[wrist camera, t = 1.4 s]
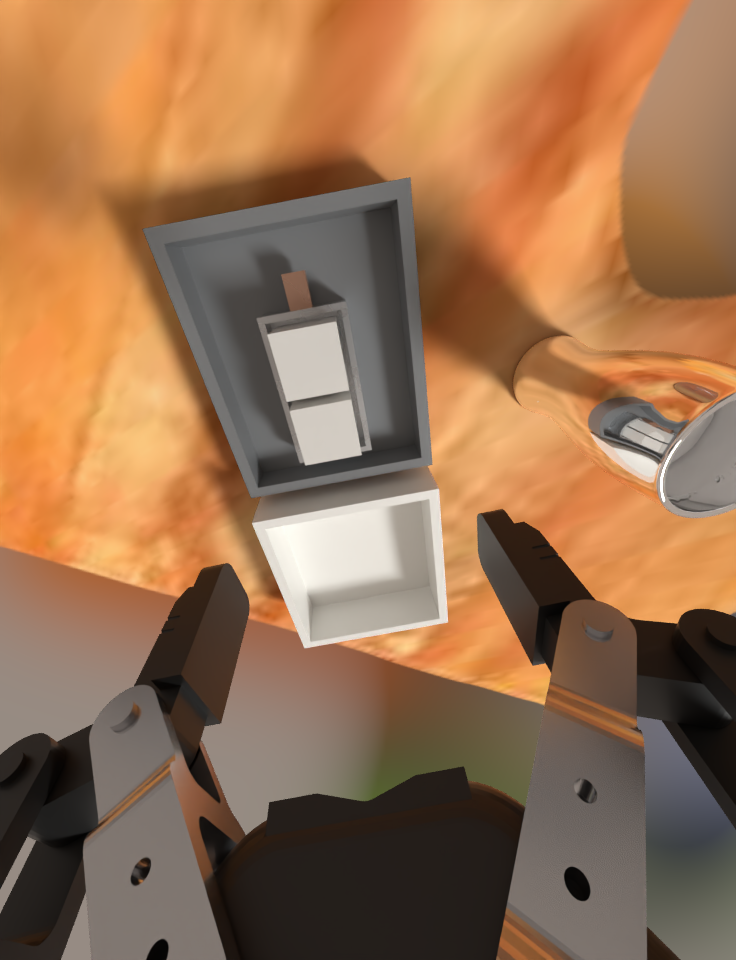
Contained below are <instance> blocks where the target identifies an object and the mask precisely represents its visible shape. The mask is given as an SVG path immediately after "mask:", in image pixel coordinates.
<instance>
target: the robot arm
mask: <svg viewBox="0 0 736 960" xmlns="http://www.w3.org/2000/svg"><path fill="white" fill-rule="evenodd" d="M477 531H478V554H479V558H480V562H481V565H482V568H483V570H484V572H485V574H486V576H487V578H488V580H489V582H490V583H491V585H492V587H493V589H494V591H495V593H496V595H497V597H498V599H499V601H500V603H501V605H502V607H503V609H504V611H505V613H506V615H507V617H508V619H509V621H510V623H511V624H512V626H513V628H514V630H515V632H516V634H517V636H518V638H519V640H520V642H521V644H522V646H523V648H524V650H525V652H526V654H527V656H528V658H529V660H530V662H531V663H532V665H533V666H534V665H539V664H544V663H546V665H547V666H548V668H549V670H550V672H551V678H550V683H549V688H548V692H547V697H546V702H545V707H544V712H543V718H542V723H541V728H540V733H539V739H538V744H537V749H536V755H535V760H534V765H533V770H532V776H531V781H530V786H529V791H528V797H527V802H526V807H524V806H523V805H522V804H521V803H519V802H518V801H517V800H515V799H513V798H512V797H510V796H508V795H507V794H506V793H503V792H502V791H499V790H497V789H495V788H493V787H491V786H488V785H485V784H481V783H478V782H472V781H468V780H467V776H466V772H465V769H464V767H458V768H453V769H447V770H442V771H437V772H431V773H426V774H421V775H415V776H414V777H412V778H410V779H408V780H406V781H405V782H403V783H401V784H399V785H397V786H395V787H394V788H392V789H390V790H388V791H387V792H385V793H383V794H381V795H379V796H377V797H376V798H374V799H372V800H369V801H357V800H351V799H345V798H340V797H334V796H328V795H322V794H312V795H306V796H301V797H296V798H290V799H285V800H279V801H274V802H270V803H269V809H268V817H267V820H266V821H265V822H263V823H261V824H260V825H259V826H257V827H256V828H254V829H253V830H252V831H251V832H250V833H248V834H247V835H246V834H245V832H244V831H243V829H242V827H241V825H240V824H239V822H238V821H237V819H236V818H235V816H234V814H233V813H232V811H231V809H230V807H229V805H228V803H227V800H226V798H225V795H224V793H223V790H222V788H221V785H220V783H219V781H218V778H217V775H216V773H215V770H214V768H213V766H212V763H211V761H210V758H209V756H208V753H207V751H206V748H205V746H204V744H203V742H202V741H201V737H202V733H203V730H204V726H209V725H215V724H220V723H221V721H222V717H223V713H224V710H225V706H226V702H227V698H228V694H229V690H230V686H231V682H232V678H233V674H234V670H235V667H236V663H237V659H238V654H239V651H240V647H241V643H242V639H243V635H244V631H245V628H246V623H247V620H248V616H249V600H248V596H247V594H246V592H245V590H244V588H243V586H242V584H241V583H240V581H239V579H238V577H237V575H236V573H235V571H234V570H233V568H232V566H231V565H230V564H228V563H226V564H221V565H216V566H211V567H206V568H203V569H202V570H201V571H200V573H199V576H198V578H197V580H196V582H195V584H194V587H189V588H188V589H187V590H186V591H185V592H184V593H183V594H182V595H181V596H180V598H179V599H178V600H177V601H176V602H175V604H174V606H173V608H172V610H171V612H170V615H169V616H168V621H166V622H165V624H164V627H163V628H162V633H161V634H159V637H158V639H157V641H156V643H155V645H154V647H153V649H152V651H151V653H150V655H149V657H148V659H147V661H146V663H145V665H144V667H143V669H142V671H141V673H140V675H139V677H138V679H137V681H136V683H135V685H134V687H132V688H129V689H127V690H125V691H124V692H122V693H120V694H119V695H118V696H116V697H115V698H114V699H113V700H112V701H110V702H109V704H107V706H106V707H105V708H104V709H103V710H102V711H101V713H100V714H99V715H98V717H97V718H96V720H95V722H94V724H92V725H90V726H88V727H86V728H84V729H82V730H80V731H78V732H76V733H74V734H72V735H70V736H68V737H66V738H64V739H62V740H60V741H58V742H56V741H55V740H54V739H52V738H51V737H49V736H48V735H46V734H44V733H38V734H33V735H30V736H28V737H25V738H23V739H21V740H20V741H18V742H16V743H15V744H13V745H12V746H11V747H9V748H8V749H7V750H5V751H4V752H3V753H2V754H1V755H0V889H1V887H2V885H3V883H4V881H5V879H6V877H7V875H8V873H9V871H10V869H11V867H12V865H13V863H14V861H15V859H16V857H17V855H18V853H19V852H20V850H21V848H22V846H23V844H24V842H25V840H26V838H27V836H28V837H30V838H32V839H34V840H36V842H35V844H34V846H33V848H32V851H31V853H30V854H29V856H28V858H27V861H26V863H25V865H24V867H23V869H22V871H21V873H20V875H19V877H18V879H17V881H16V883H15V885H14V887H13V889H12V891H11V893H10V895H9V897H8V899H7V901H6V903H5V905H4V907H3V909H2V911H1V913H0V960H61V957H62V955H63V952H64V949H65V947H66V944H67V941H68V938H69V936H70V933H71V931H72V928H73V925H74V922H75V920H76V917H77V914H78V912H79V909H80V906H81V904H82V901H83V898H84V895H85V893H86V897H87V909H88V922H89V935H90V947H91V960H680V959H679V958H678V957H677V956H676V955H675V954H674V953H673V952H672V951H671V950H670V949H669V948H668V947H667V946H666V945H665V944H664V943H663V942H662V941H661V940H660V939H659V938H658V937H657V936H656V935H655V934H654V933H653V932H652V931H651V930H650V929H649V928H648V927H647V921H646V920H647V917H646V841H645V840H646V838H645V837H646V833H645V752H644V739H643V734H642V732H641V730H639V729H638V727H637V716H640V717H646V718H652V719H658V720H662V722H663V723H664V724H665V726H666V727H667V729H668V730H669V732H670V733H671V735H672V736H673V738H674V739H675V741H676V742H677V744H678V745H679V747H680V748H681V750H682V751H683V752H684V754H685V755H686V757H687V758H688V760H689V761H690V763H691V764H692V766H693V767H694V769H695V770H696V772H697V773H698V775H699V776H700V777H701V779H702V780H703V781H704V783H705V785H706V786H707V788H708V789H709V791H710V792H711V794H712V795H713V797H714V798H715V800H716V801H717V803H718V804H719V805H720V807H721V808H722V810H723V811H724V813H725V814H726V816H727V817H728V819H729V820H730V821H731V823H732V824H733V826H734V828H735V829H736V618H735V617H734V616H731V615H729V614H726V613H723V612H719V611H715V610H709V609H694V610H690V611H687V612H685V613H684V614H683V615H682V616H681V617H680V619H679V622H678V624H675V623H664V622H653V621H643V620H635V619H631V618H627V617H626V616H625V615H624V614H623V613H622V612H620V611H619V610H618V609H616V608H614V607H613V606H610V605H608V604H606V603H603V602H600V601H596V600H595V599H594V598H593V597H592V595H591V594H590V593H589V592H588V590H587V589H586V588H585V587H584V585H583V584H582V583H581V582H580V581H579V579H578V578H577V577H576V576H575V574H574V573H573V572H572V571H571V569H570V568H569V567H568V566H567V565H566V563H565V562H564V561H563V560H562V558H561V557H559V556H558V553H557V552H556V551H555V550H554V549H553V547H552V546H550V544H549V542H548V541H547V540H546V539H545V537H544V536H543V535H542V534H541V533H540V531H538V530H537V529H535V528H533V527H532V526H530V525H528V524H527V523H525V522H520V523H515V524H514V523H513V521H512V520H511V519H510V517H509V516H508V514H507V513H506V512H505V511H504V510H503V509H500V510H495V511H490V512H485V513H480V514H478V516H477Z"/></svg>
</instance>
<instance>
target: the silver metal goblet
mask: <svg viewBox="0 0 736 960" xmlns="http://www.w3.org/2000/svg"><path fill="white" fill-rule="evenodd" d="M513 391H514V395H515V397H516V399H517V401H518V402H519V403H520V405H521V406H522V407H524V408H525V409H527V410H529V411H531V412H534V413H538V414H542V415H545V416H547V417H549V418H551V419H552V420H553V421H554V422H555V423H556V424H557V425H558V426H559V427H560V429H561V430H562V431H563V432H564V433H565V434H566V436H567V437H568V438H569V439H570V440H571V441H572V443H573V444H574V445H575V446H576V447H577V448H578V449H579V450H580V451H581V452H582V453H583V454H584V455H585V456H586V457H587V458H588V459H589V460H590V461H591V462H593V463H594V464H595V465H597V466H598V467H599V468H601V469H602V470H603V471H604V472H606V473H607V474H609V475H610V476H612V477H613V478H615V479H616V480H618V481H619V482H621V483H623V484H624V485H626V486H628V487H629V488H631V489H633V490H634V491H636V492H638V493H640V494H641V495H643V496H645V497H647V498H649V499H650V500H652V501H654V502H656V503H657V504H659V505H661V506H663V507H664V508H666V509H667V510H668V511H669V512H671V513H673V514H675V515H678V516H681V517H687V518H704V517H711V516H715V515H719V514H722V513H725V512H728V511H731V510H733V509H736V366H735V365H731V364H728V363H724V362H720V361H716V360H712V359H708V358H704V357H700V356H694V355H688V354H682V353H676V352H667V351H650V350H611V351H609V350H596V349H593V348H590V347H588V346H587V345H585V344H584V343H582V342H581V341H579V340H577V339H576V338H573V337H570V336H565V335H559V336H552V337H549V338H546V339H544V340H542V341H540V342H538V343H537V344H535V345H534V346H533V347H531V348H530V349H529V350H528V351H527V352H526V353H525V355H524V356H523V357H522V359H521V360H520V362H519V364H518V366H517V368H516V370H515V373H514V378H513Z"/></svg>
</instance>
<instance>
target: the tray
mask: <svg viewBox="0 0 736 960" xmlns="http://www.w3.org/2000/svg"><path fill="white" fill-rule="evenodd" d="M143 232H144V234H145V237H146V239H147V242H148V244H149V247H150V249H151V252H152V254H153V256H154V259H155V261H156V264H157V266H158V269H159V271H160V274H161V276H162V279H163V281H164V284H165V286H166V289H167V291H168V294H169V296H170V299H171V301H172V303H173V306H174V308H175V311H176V313H177V316H178V318H179V321H180V323H181V326H182V328H183V331H184V333H185V336H186V338H187V341H188V343H189V346H190V348H191V350H192V353H193V355H194V358H195V360H196V363H197V365H198V368H199V370H200V373H201V375H202V378H203V380H204V383H205V385H206V388H207V390H208V393H209V395H210V397H211V400H212V402H213V405H214V407H215V410H216V412H217V415H218V417H219V420H220V422H221V425H222V427H223V430H224V432H225V435H226V437H227V440H228V442H229V444H230V447H231V449H232V452H233V454H234V457H235V459H236V462H237V464H238V467H239V469H240V472H241V474H242V477H243V479H244V482H245V484H246V486H247V489H248V491H249V494H250V496H251V498H256V497H261V496H266V495H272V494H277V493H283V492H288V491H293V490H299V489H304V488H310V487H315V486H320V485H326V484H331V483H337V482H342V481H348V480H353V479H358V478H364V477H369V476H375V475H380V474H385V473H391V472H396V471H402V470H407V469H413V468H418V467H423V466H429V465H432V453H431V440H430V427H429V414H428V401H427V388H426V375H425V362H424V349H423V336H422V323H421V310H420V297H419V284H418V271H417V258H416V245H415V232H414V219H413V206H412V193H411V180H410V177H409V178H404V179H399V180H394V181H389V182H383V183H378V184H373V185H368V186H363V187H357V188H352V189H347V190H342V191H337V192H331V193H326V194H321V195H316V196H311V197H305V198H300V199H295V200H290V201H285V202H279V203H274V204H269V205H264V206H259V207H253V208H248V209H243V210H238V211H233V212H227V213H222V214H217V215H212V216H207V217H201V218H196V219H191V220H186V221H181V222H175V223H170V224H165V225H160V226H155V227H149V228H144V229H143ZM302 270H306V275H307V279H308V284H309V288H310V293H311V298H312V302H313V305H318V304H324V303H329V302H334V301H339V300H346V304H347V309H348V315H349V321H350V327H351V332H352V338H353V344H354V350H355V355H356V361H357V367H358V373H359V378H360V384H361V390H362V396H363V401H364V407H365V413H366V419H367V424H368V430H369V436H370V442H371V447H372V450H368V451H363V452H361V453H362V455H359V456H354V457H349V458H343V459H338V460H332V461H327V462H322V463H316V464H311V465H305V463H300V462H299V459H298V456H297V452H296V449H295V446H294V442H293V439H292V436H291V432H290V429H289V426H288V422H287V419H286V415H285V412H284V409H283V405H282V402H281V399H280V395H279V392H278V389H277V385H276V382H275V379H274V375H273V372H272V369H271V365H270V362H269V359H268V355H267V352H266V349H265V345H264V342H263V339H262V335H261V332H260V329H259V325H258V322H257V319H256V318H258V317H260V316H262V315H266V314H271V313H276V312H281V311H287V310H290V308H289V304H288V300H287V296H286V292H285V288H284V284H283V280H282V276H281V274H286V273H292V272H297V271H302Z"/></svg>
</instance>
